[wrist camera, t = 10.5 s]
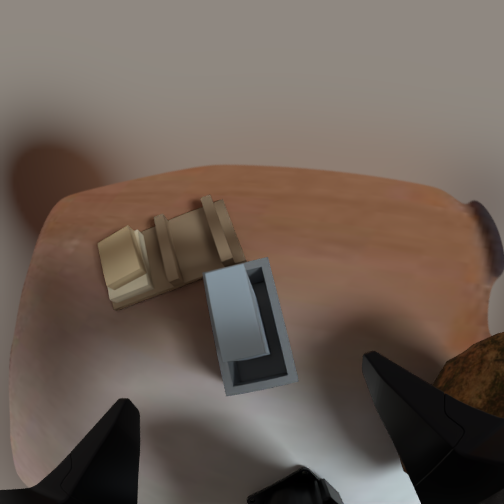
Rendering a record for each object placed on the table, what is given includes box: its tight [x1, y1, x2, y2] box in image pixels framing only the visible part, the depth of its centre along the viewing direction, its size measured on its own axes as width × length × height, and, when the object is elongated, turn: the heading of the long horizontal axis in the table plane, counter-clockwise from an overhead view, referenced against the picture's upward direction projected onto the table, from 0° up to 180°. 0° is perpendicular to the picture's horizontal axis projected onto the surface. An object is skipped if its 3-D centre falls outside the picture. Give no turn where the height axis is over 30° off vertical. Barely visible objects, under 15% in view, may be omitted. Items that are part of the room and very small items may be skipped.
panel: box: [205, 264, 271, 362], centre depth 17 cm, size 4×2×10 cm, turn 13°
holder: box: [202, 257, 299, 396], centre depth 20 cm, size 9×5×5 cm, turn 12°
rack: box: [98, 195, 247, 311], centre depth 24 cm, size 7×14×3 cm, turn 110°
